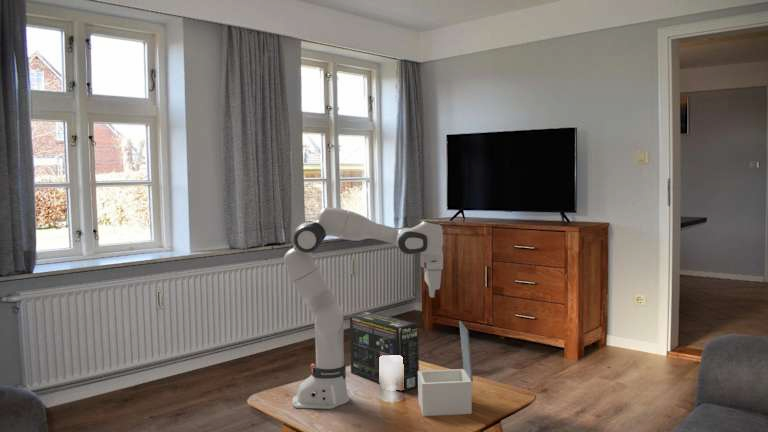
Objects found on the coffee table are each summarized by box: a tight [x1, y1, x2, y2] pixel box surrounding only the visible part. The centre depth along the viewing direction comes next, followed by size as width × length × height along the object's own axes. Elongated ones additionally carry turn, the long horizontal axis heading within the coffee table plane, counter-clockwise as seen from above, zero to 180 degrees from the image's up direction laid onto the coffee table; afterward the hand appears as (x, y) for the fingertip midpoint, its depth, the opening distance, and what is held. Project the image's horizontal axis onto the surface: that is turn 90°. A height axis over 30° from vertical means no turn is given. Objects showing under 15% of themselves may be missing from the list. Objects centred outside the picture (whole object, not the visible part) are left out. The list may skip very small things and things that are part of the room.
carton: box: [417, 368, 473, 417], centre depth 235 cm, size 18×15×12 cm
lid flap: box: [458, 320, 492, 383], centre depth 234 cm, size 19×16×9 cm
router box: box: [348, 311, 420, 391], centre depth 268 cm, size 36×11×27 cm, turn 39°
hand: (431, 296), depth 245 cm, fingers closed
